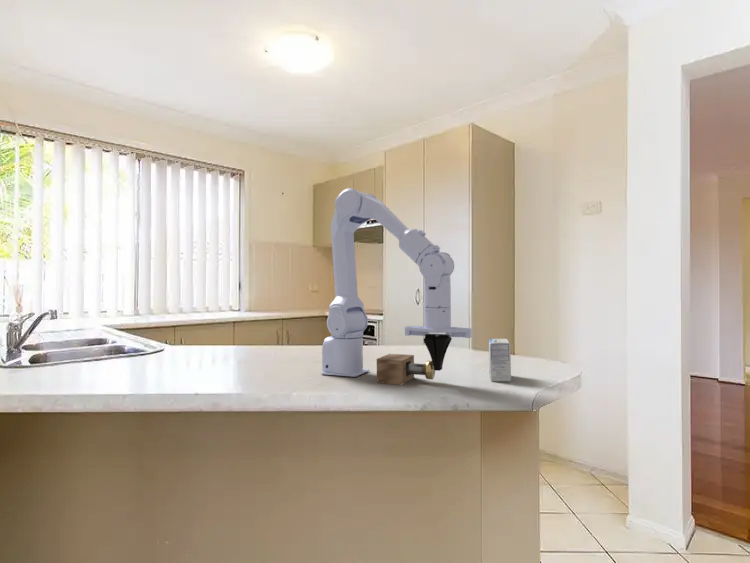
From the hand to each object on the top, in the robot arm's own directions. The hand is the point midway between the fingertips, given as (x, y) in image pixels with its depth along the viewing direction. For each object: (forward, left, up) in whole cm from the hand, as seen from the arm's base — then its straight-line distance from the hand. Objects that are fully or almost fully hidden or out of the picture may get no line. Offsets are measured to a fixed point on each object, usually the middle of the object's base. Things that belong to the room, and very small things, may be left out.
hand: (437, 369), depth 103 cm
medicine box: (+12, +10, -3) cm, 16 cm away
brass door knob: (-6, 0, -2) cm, 6 cm away
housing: (-10, 0, -3) cm, 10 cm away
